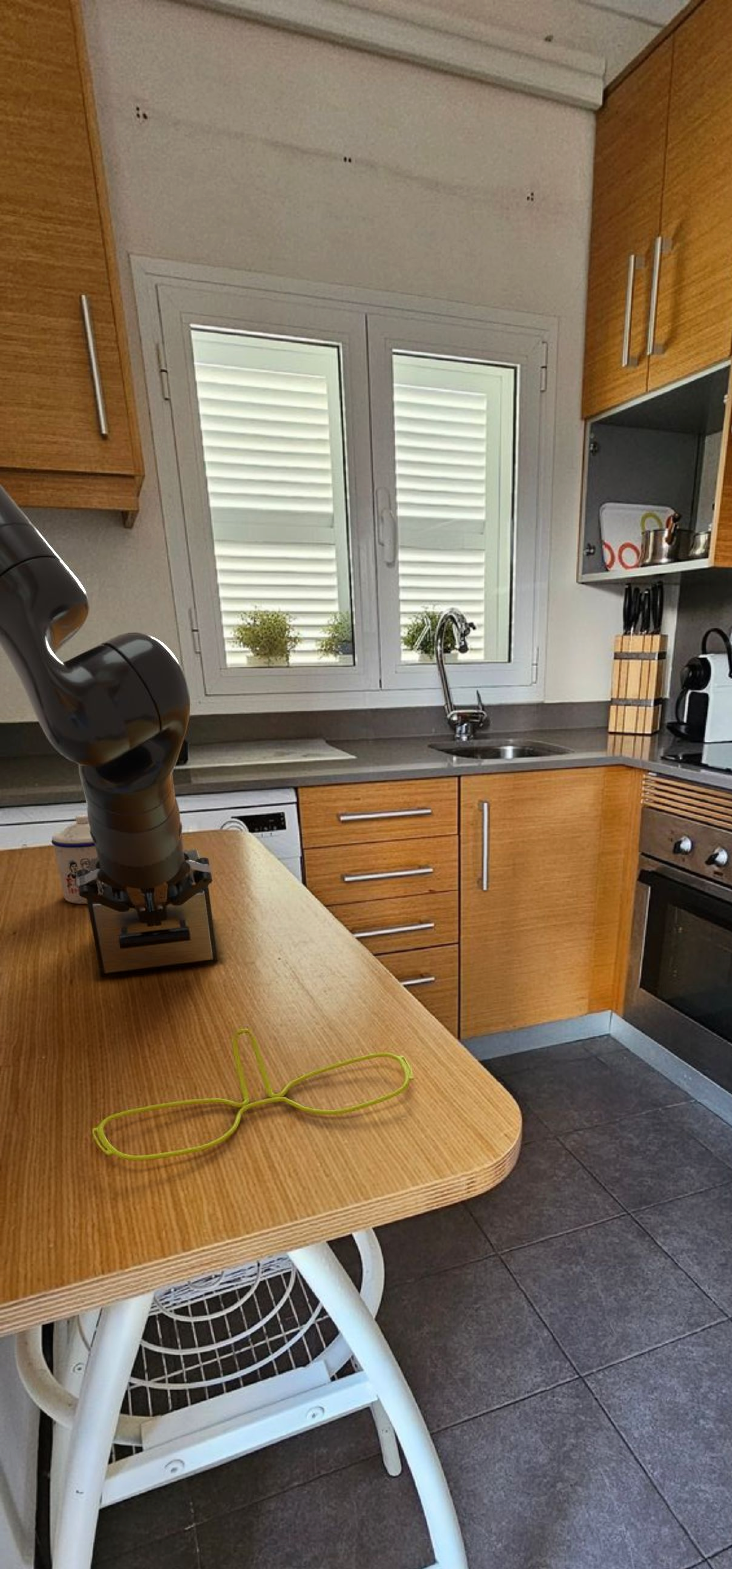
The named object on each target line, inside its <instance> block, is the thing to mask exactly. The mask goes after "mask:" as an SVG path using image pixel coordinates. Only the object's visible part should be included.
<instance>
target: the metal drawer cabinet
mask: <svg viewBox="0 0 732 1569" xmlns="http://www.w3.org/2000/svg"><path fill="white" fill-rule="evenodd" d="M183 851H184V852H186V853H187V854H188V856H189V860H191V861H194V862H195V861H196V860H197V859H199V858H201V857H200V854H199V850H198V849H197V848H196V849H186V850H185V849H183ZM97 861H98V858H95V859H91V860H90V867H89V871H91V872H92V871H94V870H96V869H97V868H96V862H97ZM181 888H182V889H183V886H182V887H181ZM201 891H204V894H205V901H206V909H207V917H208V925H209V933H210V940H211V948H212V956H213V959H211V960H203V961H196V962H188V963H180V964H173V965H165V966H157V967H150V968H142V969H134V970H127V971H119V972H111V973H105V971H104V965H103V960H102V954H101V949H100V943H99V938H98V932H97V927H96V921H95V916H94V910H93V901H91V900H88V899H87V904H86V905H87V908H88V914H89V919H90V920H89V921H90V925H91V930H92V935H93V941H94V946H95V953H96V957H97V963H98V969H99V973H100V976H101V977H106V976H107V977H108V976H113V975H121V974H128V973H136V972H137V973H138V972H143V971H144V972H145V971H152V970H160V969H167V968H175V967H183V966H189V965H190V966H191V965H198V964H204V963H205V964H207V963H214V962H218V961H219V958H218V951H217V950H218V949H217V943H216V935H215V934H216V933H215V928H214V919H213V912H212V911H213V910H212V904H211V896H210V888H209V885H208V886H206V887H205V888H204V889H202V890H201ZM112 894H113V896H114V897H116V896H115V894H114V893H112Z"/></svg>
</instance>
